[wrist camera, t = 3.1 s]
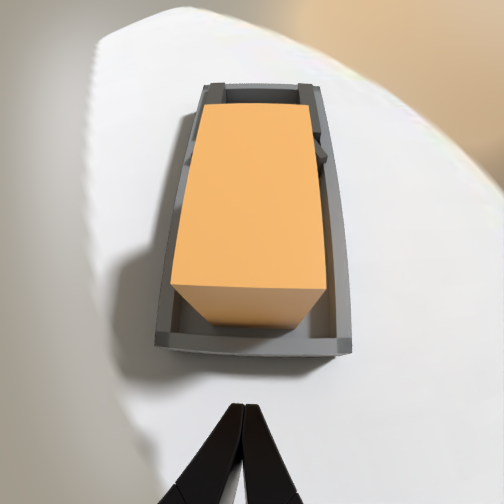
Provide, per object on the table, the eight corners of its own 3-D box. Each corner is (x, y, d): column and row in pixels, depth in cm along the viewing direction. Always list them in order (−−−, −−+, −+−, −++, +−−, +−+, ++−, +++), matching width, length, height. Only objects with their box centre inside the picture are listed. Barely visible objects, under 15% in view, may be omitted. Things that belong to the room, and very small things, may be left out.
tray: (339, 355, 16) (356, 351, 13) (168, 349, 16) (149, 344, 13) (316, 107, 24) (320, 80, 21) (207, 106, 24) (202, 79, 21)
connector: (295, 329, 15) (326, 288, 8) (213, 326, 16) (170, 283, 8) (291, 173, 20) (303, 76, 12) (227, 171, 20) (212, 76, 12)
